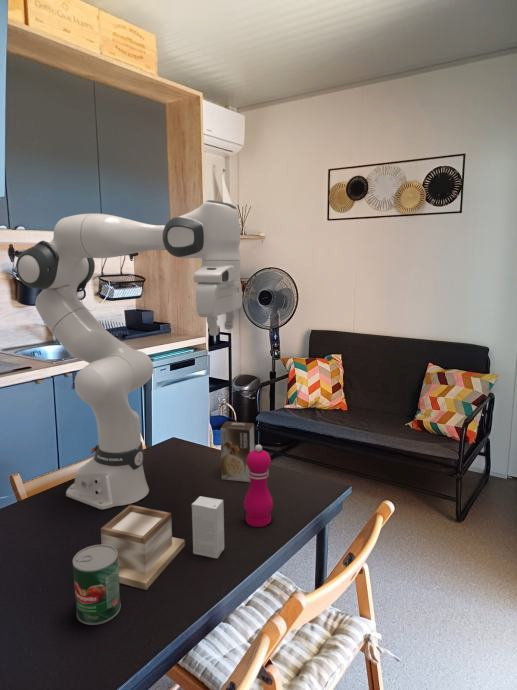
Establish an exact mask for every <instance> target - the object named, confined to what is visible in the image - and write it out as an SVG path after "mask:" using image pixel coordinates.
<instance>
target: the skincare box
mask: <svg viewBox="0 0 517 690" xmlns="http://www.w3.org/2000/svg"><path fill="white" fill-rule="evenodd" d="M224 511H225V510H224V499H220V498H219V499H218V498H213V497H207V496H201V495H200V496H198V497H197V498H196V499H195V501H194V502H192V503H191V521H192V523H191V524H192V526H191V527H192V554H194V555H198V556H202V557H207V558H212V559H219V557H220V555H221V553H222V552H223V551H224V550H225V518H224V517H225V516H224V515H225V513H224Z"/></svg>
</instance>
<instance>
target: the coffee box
mask: <svg viewBox="0 0 517 690" xmlns="http://www.w3.org/2000/svg"><path fill="white" fill-rule="evenodd" d="M253 450H255V423H253V422H242V421H230V420H229V421H228V420H226V421H225V422H224V423H223V424H222V425H221V427H220V464H221V466H220V469H221V470H220V471H221V474H220V475H221V480H228V481H237V482H245V483H250V477H249V475H248V473H249V472H248V470H249V468H248V466H247V464H246V459H247V456H248V454H249V453H250V452H251V451H253Z"/></svg>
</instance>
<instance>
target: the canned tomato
mask: <svg viewBox="0 0 517 690" xmlns="http://www.w3.org/2000/svg"><path fill="white" fill-rule="evenodd" d="M72 569H73V580H74V581H73V583H74V593H75V594H74V596H75V607H76V609H75V610H76V618H77V620H78V621H79V622H80V623H82V624H84V625H87V626H88V625H89V626H97V625H102V624H105V623H107V622H109V621H110V620H113V619H114V618H115V617H116V616H117V615H118V614H119V613H120V611H121V607H122V604H121V594H120V593H121V591H120V588H121V587H120V583H119V572H118V571H119V569H118V552H117V550H116V549H115V548H114V547H112V546H109V545H102V544H94V545H91V546H86V547H85V548H83V549H80V550H79V551H78V552H76V554H75V555H74V556H73V558H72Z"/></svg>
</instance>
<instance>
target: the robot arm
mask: <svg viewBox="0 0 517 690" xmlns="http://www.w3.org/2000/svg"><path fill="white" fill-rule="evenodd" d="M240 225H241V224H240V218H239V212H238V209H237V208H236V206H234V205H233V204H232V203H227V202H224V201H218V200H210V199H208V200H205V201H203V203H202V204H201V205H200V206H198V207H197V208H195V209H194V210H191V211H190V212H187V213H185V214H182V215H180V216H177V217H173V218H171V219H170V220H168V221H167V222H166V223H165V225H162V224H161V225H160V224H158V225H157V224H149V223H145V222H139V221H137V220H133V219H130V218H129V219H128V218H124V217H121V216H117V215H112V214H106V213H81V214H75V215H70V216H65V217H63V218H61V219H60V220H58V221H57V223H56V224H55V226H54V227H53V228H54V229H53V238H52V240H51V241H49V242H48V241H46V240H40V241H38V242H37V243H36V244H35V245H33V246H31V247H29V248H27V249H25V250H23V251H22V252H21V254H19V256H18V258H17V261H16V266H15V267H16V273H17V276H18V278H19V281H21V283H22V284H23V285H24V286H27V287H28V288H31V289H36V290H41V291H40V292H39V294H38V295H37V296H36V299H35V308H36V310H37V311H36V312H38V314H39V316H40V318H41V320H42V321H43V323H44V324H45V326H46V327H47V328H48V330H49V331H50V332H51V334H52V335H53V336H54V337H55V339H56V340H57V341H58V343H60V345H61V346H62V347H63V348H64V349H65V350H66V352H67V353H68V354H69V355H70V356H72V357H73V358H75V359H77V360H82V361H84V362H85V363H86V362H87V363H88V364H87V365H85V366H84V367H82V368H81V369H80V370H78V372H77V373H76V375H75V378H74V389H75V392H76V394H77V396H78V397H79V399H81V401H82V402H84V403H85V404H87V405H89V407H90V408H91V410H92V412H93V414H94V417H95V421H96V428H97V440H98V441H97V442H98V443H97V445H95V447H92V448H91V449H90V451H91V452H90V454H93V453H95V454H94V455H93V458H92V459H90V460H89V461H87V462H86V463H85V464H83V465H82V466H81V467H80V468H79V469H78V470H77V472H76V474H75V477H74V482H73V483H72V484H71V485H70V486H69V487H68V488H67V489H66V492H65V496H66V497H68V498H70V499H73V500H76V501H78V502H81V503H83V504H86V505H89V506H91V507H94V508H97V509H99V510H106V509H110V508H113V507H119V506H126V505H132V504H133V503H137V502H139V501H140V500H142V499H144V498H146V496H148V494H149V492H150V488H149V485H148V483H147V479H146V475H145V471H144V466H143V463H144V448H143V446H144V445H143V442H142V439H141V437H142V436H141V418H140V415H139V414H138V412H136V411H135V410H133V409H132V408H131V406H130V402H129V398H128V397H129V394H130V393H131V392H135V391H136V390H138V389H140V388H142V387H143V386H144V385H145V384H146V383H148V382H149V381H150V380H151V378H152V377H153V374H154V365H153V361H152V359H151V358H150V357H149V355H148V354H146V353H145V352H143V351H140V350H137V349H135V348H133V347H131V346H129V345H128V344H125V342H123V341H122V340H120V339H119V338H117V337H116V336H114V334H112V333H110V332H109V331H108V330H106V328H105V327H104V326H103V325H102V324H101V323H100V322H99V321H98V320H97V318H96V317H95V316H94V315H93V314H92V313H91V311H89V309H88V308H87V307H86V306H85V305H84V303H82V302H81V300H80V299H79V297H78V295H77V293H80V292H84V290H85V289H86V286H87V284H88V283H89V282H90V281H91V279H92V278H93V275H94V273H95V269H96V264H95V260H94V259H107V258H108V259H109V258H110V259H111V258H117V257H122V256H127V255H132V254H137V253H143V252H148V251H149V252H150V251H167V253H168V254H170V255H171V256H173V257H175V258H180V259H201V266H200V267H199V269H197V270H196V271H195V272H194V273H193V281H194V282H195V283H196V287H195V303H196V312H197V314H198V316H199V317H200V318H206V323H207V326H208V331H209V335H210V336H214V337H215V336H218V335H219V334H220V327H218V320H219V319H218V317H219V316H222V315H225V321H224V329H225V330H233V328H234V321H235V318H236V311H237V310H240V309H242V306H243V287H242V286H243V285H242V283H241V256H240V252H239V251H240V250H239V248H240V243H241V226H240Z"/></svg>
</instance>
